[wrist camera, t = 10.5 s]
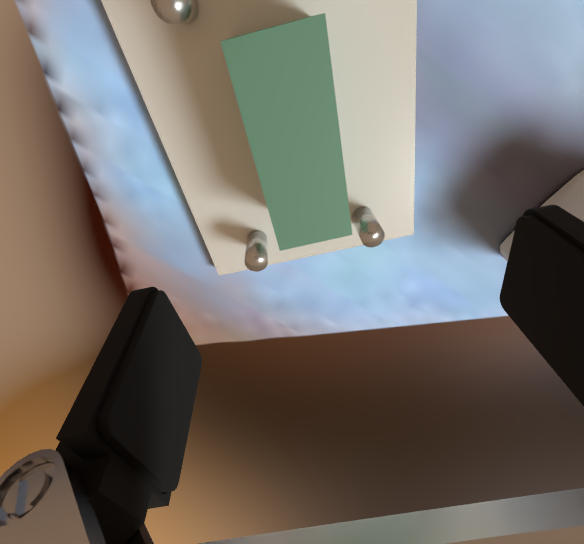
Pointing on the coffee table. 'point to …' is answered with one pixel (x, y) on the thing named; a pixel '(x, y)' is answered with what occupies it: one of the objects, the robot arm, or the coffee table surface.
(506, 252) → the photo printer
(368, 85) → the standoff plate
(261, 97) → the board block
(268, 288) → the coffee table surface
